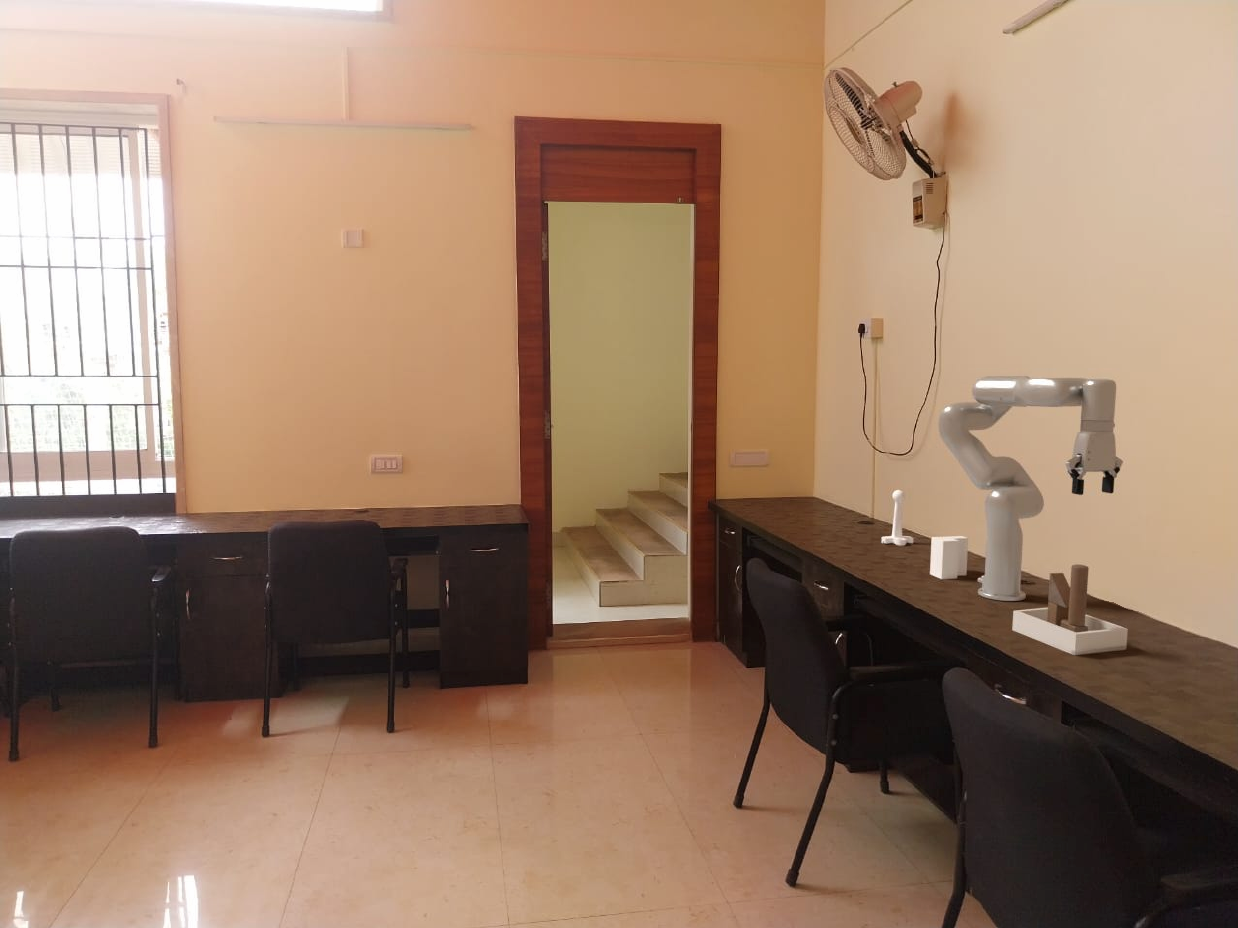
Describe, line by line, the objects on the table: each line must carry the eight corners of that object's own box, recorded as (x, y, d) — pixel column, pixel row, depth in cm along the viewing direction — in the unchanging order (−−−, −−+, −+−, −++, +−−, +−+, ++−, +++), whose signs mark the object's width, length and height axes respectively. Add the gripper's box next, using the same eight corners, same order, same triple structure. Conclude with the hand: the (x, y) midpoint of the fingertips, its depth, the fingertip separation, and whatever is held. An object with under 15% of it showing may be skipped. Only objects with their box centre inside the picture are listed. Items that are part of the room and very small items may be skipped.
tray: (1012, 630, 221) (1013, 610, 220) (1060, 625, 225) (1061, 606, 224) (1074, 655, 202) (1076, 634, 201) (1126, 649, 206) (1127, 628, 205)
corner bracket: (941, 579, 273) (943, 541, 271) (922, 570, 284) (923, 534, 282) (972, 577, 275) (974, 540, 274) (952, 569, 286) (953, 533, 285)
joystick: (908, 541, 330) (910, 489, 328) (917, 545, 323) (919, 492, 320) (880, 542, 329) (882, 489, 327) (887, 546, 322) (889, 492, 319)
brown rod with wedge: (1059, 628, 219) (1063, 557, 217) (1088, 641, 208) (1093, 567, 206) (1045, 628, 218) (1050, 557, 216) (1073, 642, 208) (1078, 567, 206)
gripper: (1111, 425, 231) (1107, 490, 233) (1058, 427, 226) (1054, 492, 228) (1135, 427, 224) (1131, 494, 226) (1081, 429, 219) (1076, 496, 221)
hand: (1092, 493), depth 227 cm, fingers open, 9 cm apart
